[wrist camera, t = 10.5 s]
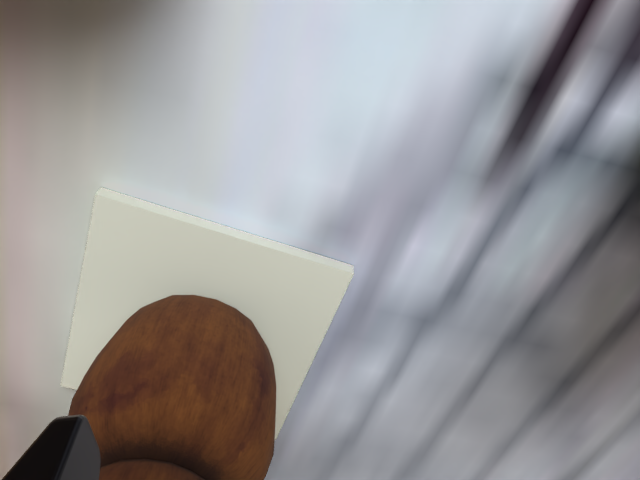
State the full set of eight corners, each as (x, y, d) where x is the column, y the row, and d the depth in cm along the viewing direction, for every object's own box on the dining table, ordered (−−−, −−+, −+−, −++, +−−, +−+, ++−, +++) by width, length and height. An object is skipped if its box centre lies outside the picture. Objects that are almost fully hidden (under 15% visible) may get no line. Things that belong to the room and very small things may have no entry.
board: (353, 265, 23) (353, 273, 23) (276, 429, 28) (275, 439, 27) (100, 187, 21) (95, 194, 21) (65, 376, 26) (60, 385, 26)
